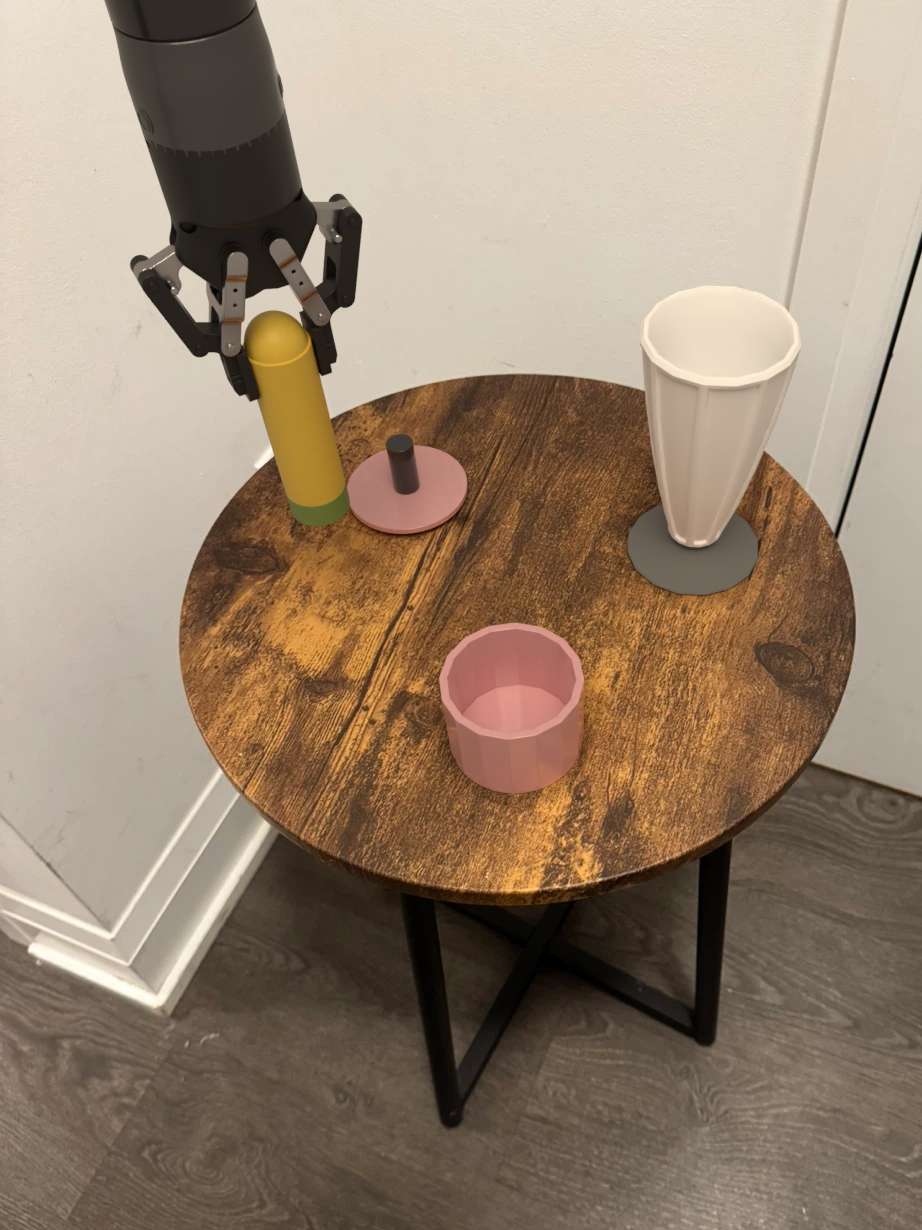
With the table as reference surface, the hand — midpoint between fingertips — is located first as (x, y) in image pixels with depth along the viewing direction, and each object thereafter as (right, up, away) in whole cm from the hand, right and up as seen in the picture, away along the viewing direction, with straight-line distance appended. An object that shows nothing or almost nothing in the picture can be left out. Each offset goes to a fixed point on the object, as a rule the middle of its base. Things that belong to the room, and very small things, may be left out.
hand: (286, 379), depth 68 cm
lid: (+5, -1, +27) cm, 27 cm away
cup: (+30, -7, +23) cm, 38 cm away
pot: (+15, -24, +12) cm, 30 cm away
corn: (0, -6, +9) cm, 11 cm away
